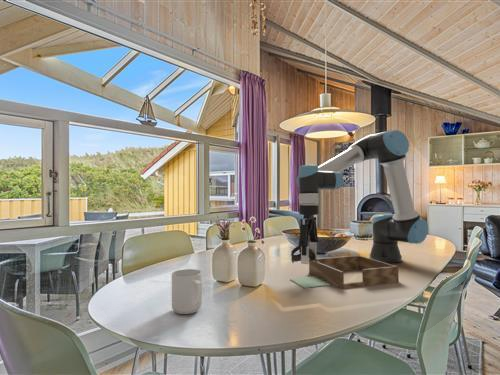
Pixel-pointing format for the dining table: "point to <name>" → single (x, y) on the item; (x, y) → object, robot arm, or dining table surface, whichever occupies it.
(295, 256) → the brown hollow vessel
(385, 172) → the robot arm
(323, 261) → the crate
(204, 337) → the dining table surface
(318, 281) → the mat
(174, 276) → the mug
